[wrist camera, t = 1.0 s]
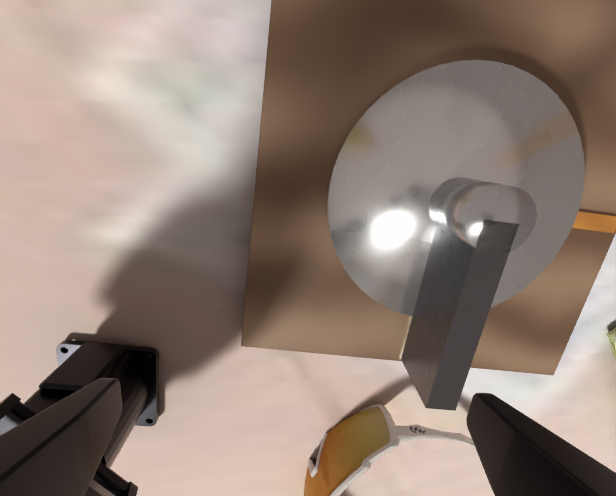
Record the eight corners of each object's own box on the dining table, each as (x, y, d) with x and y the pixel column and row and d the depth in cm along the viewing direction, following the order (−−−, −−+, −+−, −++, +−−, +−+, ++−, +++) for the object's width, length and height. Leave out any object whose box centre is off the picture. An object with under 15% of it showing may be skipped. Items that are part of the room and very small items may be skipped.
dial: (349, 43, 16) (374, -2, 11) (609, 88, 17) (733, 65, 12) (303, 340, 21) (306, 398, 16) (506, 359, 22) (565, 419, 17)
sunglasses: (349, 375, 24) (373, 434, 19) (490, 416, 29) (536, 472, 24) (270, 499, 28) (274, 574, 23) (407, 518, 32) (433, 583, 28)
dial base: (537, 361, 24) (555, 377, 23) (244, 333, 22) (240, 347, 21) (677, 25, 18) (716, 13, 16) (279, -52, 16) (277, -75, 14)
